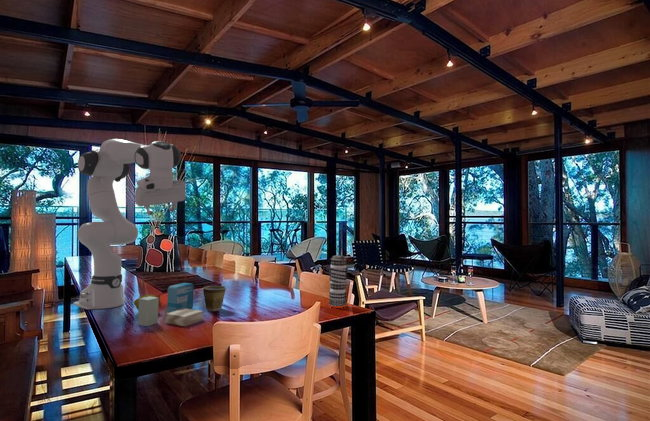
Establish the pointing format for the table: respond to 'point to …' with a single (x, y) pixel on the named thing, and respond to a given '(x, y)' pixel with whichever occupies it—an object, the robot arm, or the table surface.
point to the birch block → (184, 317)
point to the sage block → (148, 311)
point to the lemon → (142, 297)
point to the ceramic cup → (214, 297)
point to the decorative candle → (338, 281)
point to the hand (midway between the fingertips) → (161, 212)
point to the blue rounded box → (180, 297)
